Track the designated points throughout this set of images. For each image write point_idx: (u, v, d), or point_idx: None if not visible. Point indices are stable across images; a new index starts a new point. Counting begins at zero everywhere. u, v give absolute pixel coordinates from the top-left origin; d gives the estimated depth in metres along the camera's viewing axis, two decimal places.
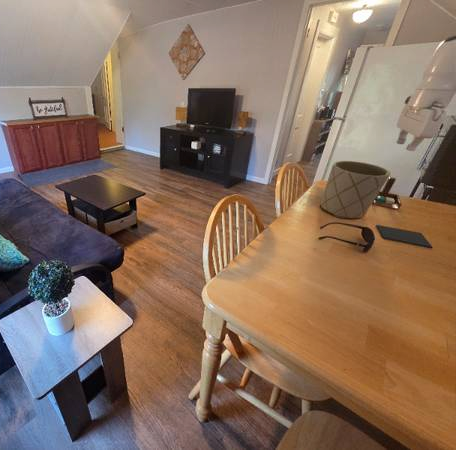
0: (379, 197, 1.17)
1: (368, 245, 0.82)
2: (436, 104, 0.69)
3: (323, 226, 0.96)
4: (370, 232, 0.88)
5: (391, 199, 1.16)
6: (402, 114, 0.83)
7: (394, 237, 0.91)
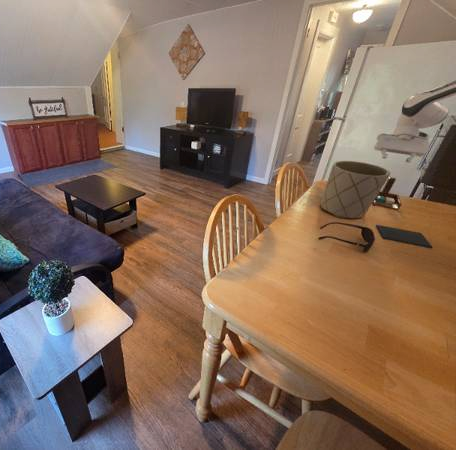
0: (379, 197, 1.17)
1: (368, 245, 0.82)
2: None
3: (323, 226, 0.96)
4: (370, 232, 0.88)
5: (391, 199, 1.16)
6: None
7: (394, 237, 0.91)
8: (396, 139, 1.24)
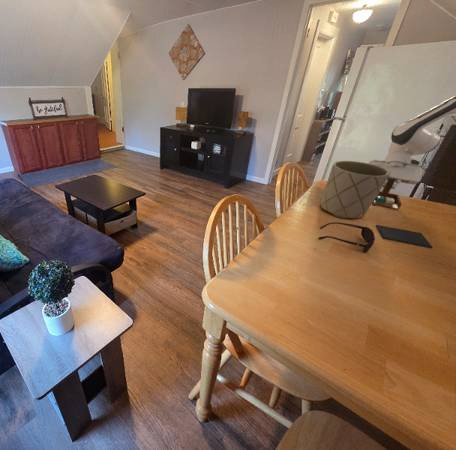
0: (379, 197, 1.17)
1: (368, 245, 0.82)
2: None
3: (323, 226, 0.96)
4: (370, 232, 0.88)
5: (391, 199, 1.16)
6: None
7: (394, 237, 0.91)
8: (388, 166, 1.20)
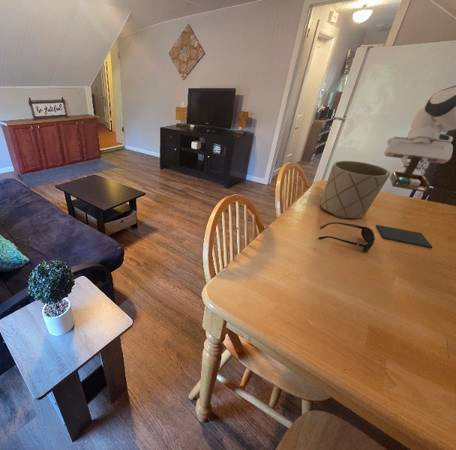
0: (402, 178, 1.01)
1: (368, 245, 0.82)
2: None
3: (323, 226, 0.96)
4: (370, 232, 0.88)
5: (416, 180, 0.99)
6: None
7: (394, 237, 0.91)
8: (411, 143, 1.04)
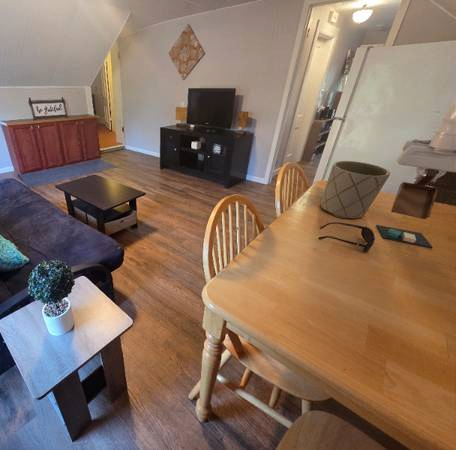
0: None
1: (368, 245, 0.82)
2: None
3: (323, 226, 0.96)
4: (370, 232, 0.88)
5: None
6: None
7: None
8: (431, 152, 0.86)
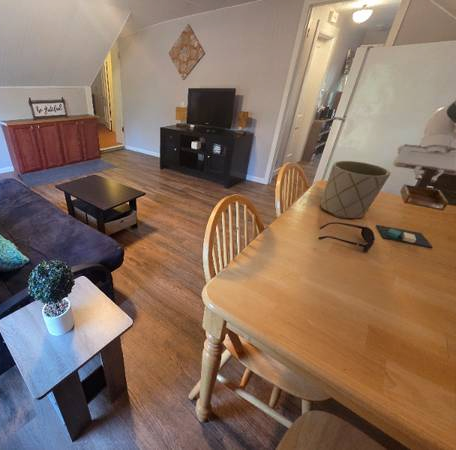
0: None
1: (368, 245, 0.82)
2: None
3: (323, 226, 0.96)
4: (370, 232, 0.88)
5: None
6: None
7: None
8: (425, 152, 0.91)
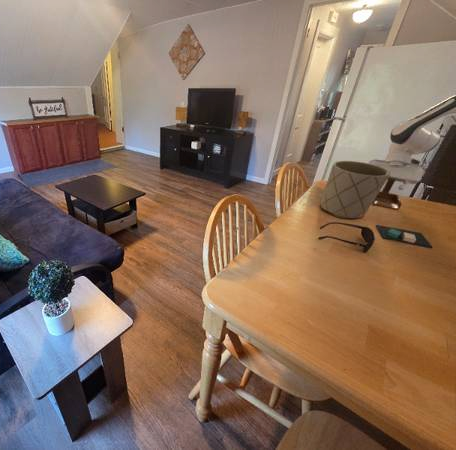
0: None
1: (368, 245, 0.82)
2: None
3: (323, 226, 0.96)
4: (370, 232, 0.88)
5: None
6: None
7: None
8: (388, 166, 1.20)
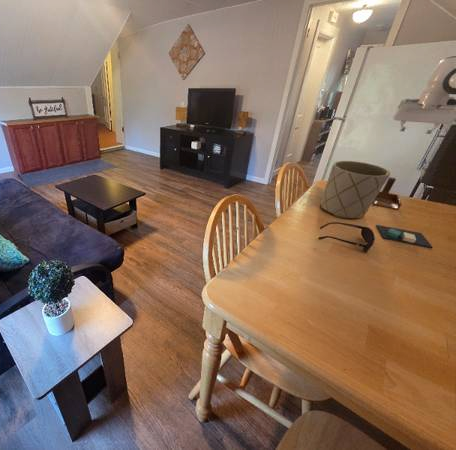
0: None
1: (368, 245, 0.82)
2: None
3: (323, 226, 0.96)
4: (370, 232, 0.88)
5: None
6: None
7: None
8: (419, 108, 1.11)
